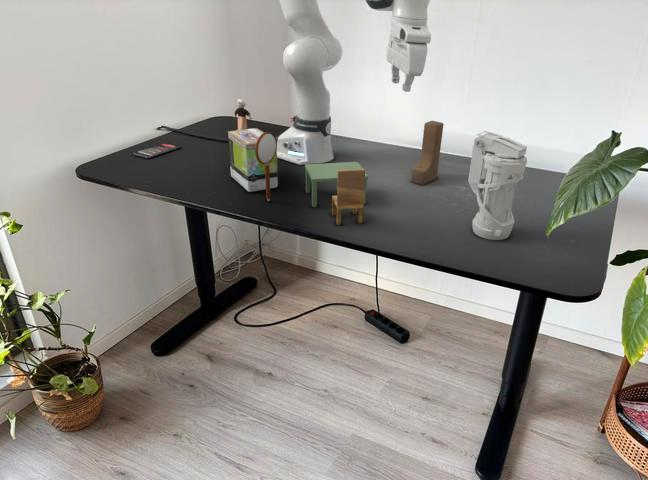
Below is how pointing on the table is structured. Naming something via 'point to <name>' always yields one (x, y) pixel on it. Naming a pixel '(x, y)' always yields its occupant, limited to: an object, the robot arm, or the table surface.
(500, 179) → the grey mechanical canister
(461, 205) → the table surface
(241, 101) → the grandmother figurine
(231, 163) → the tea box
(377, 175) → the table surface
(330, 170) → the side table
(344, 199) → the chair
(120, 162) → the table surface
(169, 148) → the smartphone
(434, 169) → the wooden block
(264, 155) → the magnifying glass
